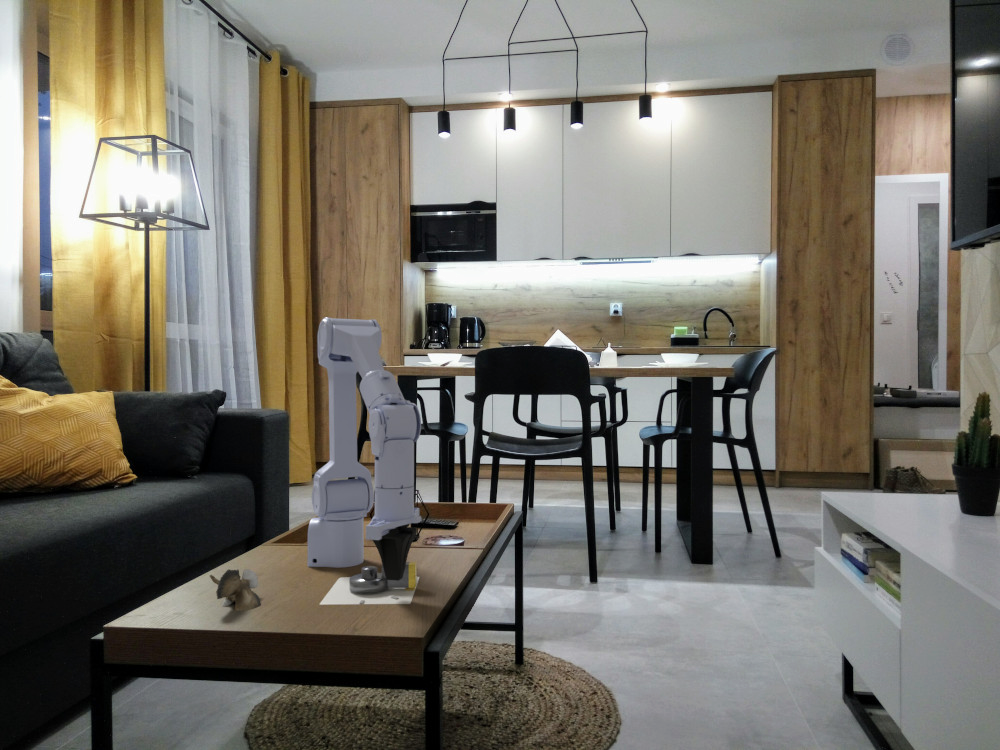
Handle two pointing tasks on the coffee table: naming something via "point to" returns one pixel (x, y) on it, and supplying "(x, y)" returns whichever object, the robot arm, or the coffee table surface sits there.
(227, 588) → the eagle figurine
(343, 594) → the dial plate
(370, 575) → the dial
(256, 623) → the coffee table surface
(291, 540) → the coffee table surface
